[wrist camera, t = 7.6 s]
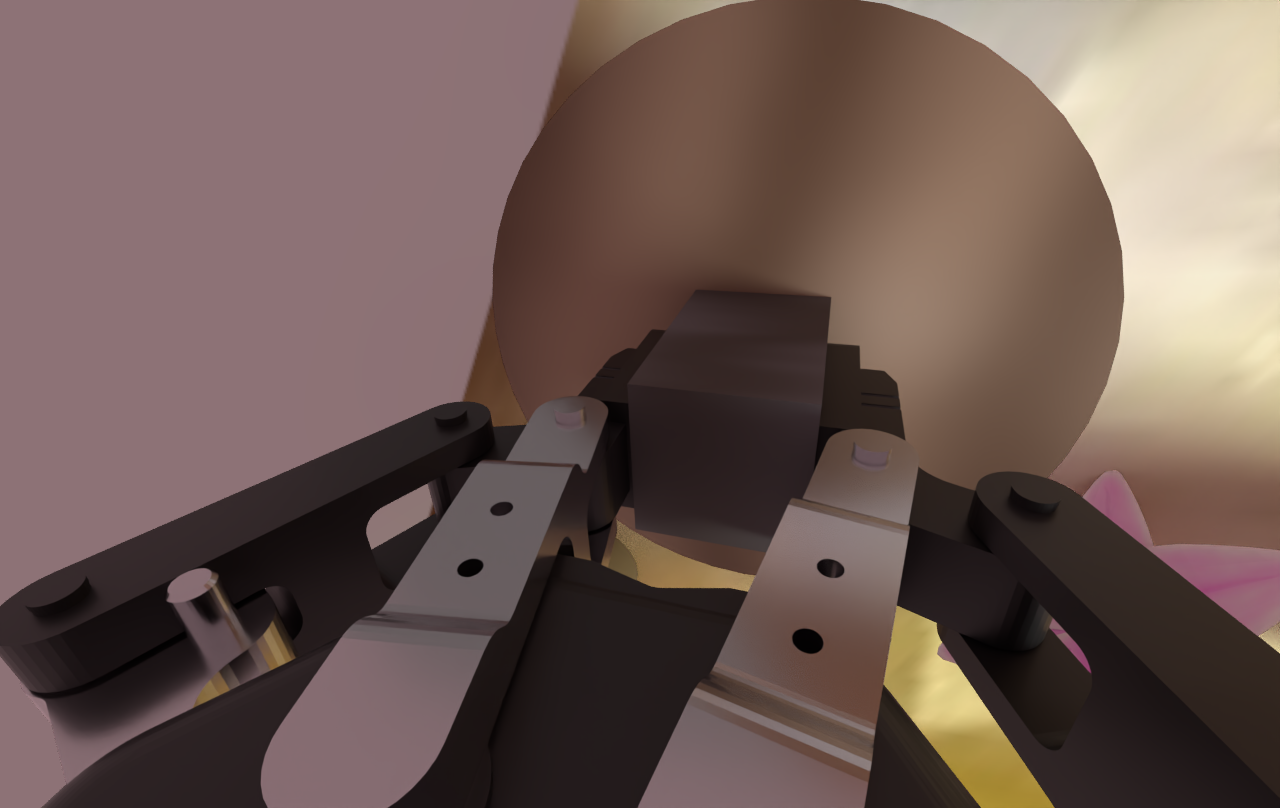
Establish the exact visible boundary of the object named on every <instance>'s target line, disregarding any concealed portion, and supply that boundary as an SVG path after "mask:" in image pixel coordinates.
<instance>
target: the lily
mask: <svg viewBox="0 0 1280 808" xmlns="http://www.w3.org/2000/svg"><path fill="white" fill-rule="evenodd" d="M1082 497H1083V498H1084V499H1085V500H1086V501H1088V502H1089V503H1090V504H1091V505H1093V506H1094V507H1095V508H1096V509H1098V510H1099V511H1100V512H1101V513H1103V514H1104V515H1105V516H1107V517H1108V518H1109V519H1110V520H1112V521H1113V522H1114V523H1115V524H1117V525H1118V526H1119V527H1120V528H1122V529H1123V530H1124V531H1126V532H1127V533H1128V534H1129V535H1131V536H1132V537H1133V538H1134V539H1136V540H1137V541H1138V542H1139V543H1141V544H1142V545H1143V546H1144V547H1146V548H1147V549H1148V550H1150V551H1151V552H1152V553H1153V554H1155V555H1156V556H1157V557H1158V558H1160V559H1161V560H1162V561H1163V562H1165V563H1166V564H1167V565H1168V566H1170V567H1171V568H1172V569H1174V570H1175V571H1176V572H1177V573H1179V574H1180V575H1181V576H1182V577H1184V578H1185V579H1186V580H1187V581H1189V582H1190V583H1191V584H1193V585H1194V586H1195V587H1196V588H1198V589H1199V590H1200V591H1201V592H1203V593H1204V594H1205V595H1206V596H1208V597H1209V598H1210V599H1211V600H1213V601H1214V602H1215V603H1217V604H1218V605H1219V606H1220V607H1222V608H1223V609H1224V610H1225V611H1227V612H1228V613H1229V614H1230V615H1232V616H1233V617H1234V618H1236V619H1237V620H1238V621H1239V622H1241V623H1242V624H1243V625H1244V626H1246V627H1247V628H1248V629H1249V630H1251V631H1252V632H1253V633H1254V634H1256V635H1257V636H1259V635H1261V634H1262V633H1264V632H1265V631H1267V630H1268V629H1270V628H1271V627H1273V626H1274V625H1275V624H1277V623H1278V622H1280V550H1274V549H1264V548H1255V547H1241V546H1225V545H1207V544H1170V545H1160V546H1154V545H1153V541H1152V538H1151V535H1150V532H1149V529H1148V526H1147V523H1146V521H1145V519H1144V516H1143V514H1142V512H1141V509H1140V507H1139V505H1138V503H1137V501H1136V499H1135V497H1134V495H1133V493H1132V491H1131V489H1130V487H1129V485H1128V483H1127V482H1126V480H1125V479H1124V477H1123V476H1122V474H1121V473H1120V472H1118V471H1117V470H1112V471H1107V472H1104V473H1103V474H1102V475H1101V476H1100V477H1099V478H1098V479H1097V480H1096V481H1095V482H1094V483H1093V484H1092V485H1091V487H1090V488H1089V489H1088V490H1087V492H1086V493H1085V494H1084V495H1083V496H1082ZM1049 628H1050V629H1051V630H1052V631H1053V632H1054V633H1055V634H1056V635H1057V637H1058V638H1059V639H1060V640H1061V641H1062V642H1063V643H1064V644H1065V645H1066V647H1067V648H1068V649H1069V650H1070V651H1071V652H1072V653H1073V654H1074V656H1075V657H1076V658H1077V659H1078V660H1079V661H1080V662H1081V663H1082V664H1083V666H1084V667H1085V668H1086V669H1087V670H1088V671H1089V672H1090V673H1091V670H1090V667H1089V664H1088V661H1087V659H1086V657H1085V655H1084V653H1083V652H1082V650H1081V649H1080V647H1079V646H1078V645H1077V644H1076V643H1075V641H1074V640H1073V639H1072V638H1071V637H1070V636H1069V635H1068V634H1067V633H1066V632H1065V631H1064V629H1063V628H1062V627H1061V626H1060V625H1059V624H1058V623H1057V622H1056V621H1055V620H1054V619H1052V622H1051V624H1050V627H1049ZM937 654H938V655H939V656H940V657H941V658H942V659H944V660H947V661H950V662H953V663H956V662H955V660H954V659H953V657H952V656H951V654H950V653H949V652H948V650H947V649H946V647H945V646H944V644H943V643H942V644H941V645H940V646H939V648H938V653H937ZM956 664H957V663H956Z"/></svg>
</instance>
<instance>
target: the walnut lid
mask: <svg viewBox="0 0 1280 808" xmlns="http://www.w3.org/2000/svg"><path fill="white" fill-rule="evenodd" d="M1123 303H1124V285H1123V265H1122V250H1121V245H1120V241H1119V236H1118V232H1117V228H1116V223H1115V219H1114V214H1113V210H1112V206H1111V203H1110V200H1109V198H1108V196H1107V193H1106V191H1105V188H1104V186H1103V184H1102V181H1101V179H1100V177H1099V174H1098V172H1097V170H1096V167H1095V165H1094V162H1093V160H1092V158H1091V156H1090V155H1089V153H1088V152H1087V150H1086V149H1085V147H1084V146H1083V144H1082V143H1081V141H1080V140H1079V138H1078V137H1077V135H1076V133H1075V132H1074V130H1073V129H1072V127H1071V126H1070V124H1069V123H1068V121H1067V120H1066V118H1065V117H1064V115H1063V114H1062V113H1061V112H1060V111H1059V110H1058V109H1057V108H1056V107H1055V106H1054V105H1053V104H1052V102H1051V101H1050V100H1049V99H1048V98H1047V97H1046V96H1045V95H1044V94H1043V93H1042V92H1041V91H1040V90H1039V89H1038V88H1037V87H1036V85H1035V84H1034V83H1033V82H1032V81H1031V80H1030V79H1029V78H1028V77H1027V76H1025V75H1024V74H1023V73H1021V72H1020V71H1019V70H1017V69H1016V68H1015V67H1013V66H1012V65H1011V64H1009V63H1008V62H1007V61H1005V60H1004V59H1003V58H1001V57H1000V56H999V55H997V54H996V53H995V52H993V51H992V50H991V49H989V48H988V47H987V46H985V45H983V44H982V43H980V42H978V41H976V40H974V39H972V38H970V37H968V36H966V35H964V34H962V33H960V32H958V31H956V30H954V29H952V28H950V27H948V26H947V25H945V24H943V23H941V22H939V21H936V20H933V19H930V18H927V17H924V16H921V15H918V14H915V13H912V12H908V11H905V10H902V9H899V8H896V7H893V6H890V5H887V4H881V3H874V2H868V1H861V0H755V1H749V2H742V3H736V4H730V5H726V6H723V7H720V8H717V9H714V10H711V11H708V12H704V13H701V14H698V15H695V16H692V17H689V18H686V19H683V20H680V21H678V22H676V23H674V24H672V25H670V26H668V27H666V28H664V29H662V30H660V31H658V32H656V33H654V34H652V35H650V36H648V37H646V38H644V39H642V40H640V41H638V42H636V43H635V44H634V45H632V46H631V47H629V48H628V49H626V50H625V51H623V52H622V53H621V54H619V55H618V56H616V57H615V58H613V59H612V60H610V61H609V62H607V63H606V64H605V65H603V66H602V67H600V68H599V69H598V70H597V71H596V72H595V73H594V74H593V75H592V76H591V77H590V78H589V79H588V80H586V81H585V82H584V83H583V84H582V85H581V86H580V87H579V88H578V89H577V90H576V91H575V92H573V93H572V94H571V95H570V96H569V97H568V99H567V100H566V101H565V102H564V104H563V105H562V106H561V107H560V108H559V110H558V111H557V112H556V113H555V115H554V116H553V117H552V118H551V120H550V121H549V122H548V123H547V124H546V126H545V127H544V128H543V130H542V131H541V133H540V135H539V136H538V138H537V140H536V141H535V143H534V145H533V146H532V148H531V150H530V151H529V153H528V155H527V156H526V158H525V160H524V161H523V163H522V166H521V168H520V170H519V172H518V175H517V177H516V180H515V182H514V184H513V186H512V189H511V191H510V193H509V196H508V198H507V202H506V206H505V209H504V213H503V216H502V220H501V223H500V227H499V231H498V237H497V243H496V250H495V258H494V264H493V308H494V318H495V327H496V334H497V339H498V343H499V347H500V352H501V356H502V361H503V364H504V367H505V370H506V373H507V376H508V379H509V381H510V384H511V387H512V390H513V393H514V395H515V397H516V399H517V401H518V403H519V405H520V407H521V409H522V411H523V413H524V415H525V418H526V420H527V421H528V422H529V420H530V418H531V417H532V415H533V413H534V412H535V410H536V409H537V408H538V407H540V406H541V405H543V404H544V403H546V402H548V401H551V400H554V399H558V398H562V397H569V396H578V395H579V394H580V392H581V391H582V390H583V389H584V388H585V387H586V385H587V384H588V383H589V382H590V381H591V380H592V378H593V377H595V375H596V374H597V373H598V371H599V370H600V369H602V367H603V365H604V364H605V363H606V362H607V361H608V360H609V358H610V357H611V356H613V355H615V354H617V353H619V352H621V351H623V350H625V349H627V348H635V349H637V347H638V346H639V345H640V343H641V342H642V341H643V340H644V338H645V337H646V336H647V334H648V333H649V332H650V331H651V330H652V329H656V330H666V331H665V333H664V334H663V336H662V337H661V338H660V340H659V341H658V342H657V344H656V345H655V347H654V348H653V349H652V351H651V352H650V353H649V355H648V356H647V358H646V359H645V360H644V362H643V363H642V364H641V366H640V367H639V369H638V370H637V371H636V373H635V374H634V375H633V377H632V378H631V380H630V381H629V382H628V384H627V388H628V406H629V424H630V442H631V460H632V478H633V496H634V508H629V507H623V506H621V507H620V509H619V511H618V513H617V515H616V519H617V520H618V521H620V522H621V523H622V524H624V525H625V526H627V527H628V528H630V529H631V530H633V531H635V532H636V533H638V534H640V535H642V536H644V537H645V538H647V539H649V540H651V541H652V542H654V543H656V544H658V545H660V546H662V547H665V548H667V549H669V550H671V551H673V552H676V553H678V554H680V555H682V556H685V557H688V558H691V559H694V560H696V561H699V562H702V563H705V564H708V565H711V566H714V567H718V568H722V569H727V570H731V571H735V572H739V573H743V574H750V575H756V574H757V572H758V570H759V567H760V565H761V563H762V561H763V559H764V556H765V554H766V552H767V550H768V548H769V546H770V543H771V541H772V539H773V537H774V535H775V532H776V530H777V528H778V526H779V524H780V522H781V519H782V517H783V515H784V513H785V511H786V508H787V506H788V504H789V502H790V500H791V499H792V498H793V497H794V496H795V497H799V498H803V496H804V494H805V492H806V489H807V487H808V485H809V483H810V480H811V478H812V476H813V472H814V464H815V456H816V448H817V440H818V432H819V424H820V416H821V407H822V397H823V386H824V375H825V364H826V353H827V343H834V344H847V345H859V346H860V369H871V370H882V371H885V372H886V373H887V374H888V375H889V376H890V377H891V378H892V379H893V380H895V381H896V382H897V385H898V392H899V399H900V406H901V408H900V410H901V412H902V419H903V426H904V433H905V440H906V442H908V443H909V444H911V445H912V446H913V447H914V448H915V450H916V451H917V452H918V455H919V467H920V468H921V469H923V470H924V471H925V472H927V473H929V474H931V475H932V476H934V477H937V478H939V479H941V480H943V481H946V482H949V483H952V484H955V485H958V486H962V487H965V488H968V489H971V490H974V491H975V489H976V485H977V483H978V481H979V480H980V479H981V478H982V477H984V476H986V475H988V474H991V473H996V472H1005V471H1012V472H1023V473H1029V474H1033V475H1038V476H1041V477H1044V478H1048V477H1049V475H1050V474H1051V473H1052V472H1053V471H1054V470H1055V469H1056V468H1057V466H1058V465H1059V464H1060V463H1061V462H1062V461H1063V460H1064V459H1065V457H1066V456H1067V454H1068V453H1069V451H1070V450H1071V448H1072V447H1073V445H1074V444H1075V442H1076V441H1077V439H1078V438H1079V436H1080V435H1081V433H1082V432H1083V430H1084V429H1085V427H1086V426H1087V424H1088V423H1089V420H1090V418H1091V416H1092V414H1093V412H1094V410H1095V408H1096V406H1097V403H1098V401H1099V399H1100V397H1101V395H1102V393H1103V391H1104V389H1105V386H1106V384H1107V381H1108V377H1109V374H1110V370H1111V367H1112V364H1113V360H1114V357H1115V353H1116V350H1117V347H1118V343H1119V336H1120V327H1121V319H1122V311H1123Z"/></svg>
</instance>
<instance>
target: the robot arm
mask: <svg viewBox="0 0 1280 808" xmlns="http://www.w3.org/2000/svg"><path fill="white" fill-rule="evenodd" d="M665 331H666V330H656V329H652V330H651V331H650V332H649V333H648V334H647V336H646V337H645V338H644V340H643V341H642V342H641V343H640V345H639V346H638V347H637V349H635V348H627V349H625V350H623V351H621V352H619V353H617V354H615V355H613V356H611V357H610V358H609V360H608V361H607V362H606V363H605V364H604V365H603V367H602V369H600V370H599V371H598V373H597V374H596V375H595V377H593V378H592V380H591V381H590V382H589V383H588V384H587V385H586V387H585V388H584V389H583V390H582V391H581V392H580V394H579V395H578V396H569V397H562V398H558V399H554V400H551V401H548V402H546V403H544V404H543V405H541V406H540V407H538V408H537V409H536V410H535V412H534V413H533V415H532V417H531V418H530V420H529V422H528V423H527V425H517V426H500V427H493V425H492V420H491V414H490V411H489V409H488V408H487V407H485V406H484V405H482V404H479V403H475V402H454V403H447V404H443V405H440V406H437V407H434V408H431V409H429V410H427V411H425V412H422V413H420V414H418V415H415V416H413V417H411V418H408V419H406V420H404V421H402V422H399V423H397V424H395V425H392V426H390V427H388V428H385V429H383V430H381V431H379V432H376V433H374V434H372V435H370V436H367V437H365V438H362V439H360V440H358V441H355V442H353V443H351V444H349V445H346V446H344V447H342V448H339V449H337V450H335V451H332V452H330V453H328V454H326V455H323V456H321V457H319V458H316V459H314V460H312V461H309V462H307V463H305V464H303V465H300V466H298V467H296V468H293V469H291V470H289V471H286V472H284V473H282V474H280V475H277V476H275V477H273V478H270V479H268V480H266V481H263V482H261V483H259V484H256V485H255V486H252V487H250V488H247V489H245V490H243V491H241V492H238V493H236V494H233V495H231V496H229V497H227V498H224V499H222V500H220V501H217V502H215V503H213V504H210V505H208V506H206V507H204V508H201V509H199V510H197V511H194V512H192V513H190V514H188V515H185V516H183V517H181V518H178V519H176V520H174V521H171V522H169V523H167V524H164V525H162V526H160V527H157V528H155V529H153V530H151V531H148V532H146V533H144V534H141V535H139V536H137V537H135V538H132V539H130V540H128V541H125V542H123V543H121V544H118V545H116V546H114V547H112V548H110V549H107V550H105V551H102V552H100V553H98V554H96V555H93V556H91V557H89V558H86V559H84V560H82V561H79V562H77V563H75V564H72V565H70V566H68V567H65V568H63V569H61V570H59V571H56V572H54V573H52V574H50V575H48V576H45V577H43V578H41V579H39V580H38V581H36V582H34V583H32V584H30V585H29V586H27V587H25V588H24V589H22V590H20V591H19V592H18V593H17V594H15V595H14V596H12V597H11V598H9V599H8V600H7V601H6V602H5V603H3V604H2V605H1V606H0V657H1V658H2V659H3V660H4V661H5V663H6V664H7V665H8V666H9V667H10V668H11V670H12V671H13V672H14V673H15V675H16V676H17V677H18V678H19V679H20V681H21V682H20V684H21V689H22V690H23V691H24V693H25V694H26V695H27V696H28V697H29V699H30V700H31V701H32V702H33V703H34V705H35V706H36V707H37V708H38V709H39V710H40V712H41V713H42V714H43V715H44V716H45V718H46V719H47V720H48V721H49V722H50V723H51V725H52V729H53V733H54V737H55V741H56V745H57V749H58V753H59V757H60V761H61V766H62V770H63V774H64V778H65V782H66V785H65V786H64V787H63V788H62V789H61V790H60V791H59V792H58V793H56V795H54V796H53V797H52V798H51V799H50V800H49V801H48V802H47V803H46V804H45V805H44V806H43V807H42V808H981V807H980V806H979V805H978V803H977V802H976V801H975V800H974V798H973V797H972V796H971V795H970V793H969V792H968V791H967V789H966V788H965V787H964V786H963V784H962V783H961V782H960V781H959V779H958V778H957V777H956V775H955V774H954V773H953V772H952V770H951V769H950V768H949V767H948V765H947V764H946V763H945V762H944V760H943V759H942V758H941V756H940V755H939V754H938V753H937V751H936V750H935V749H934V748H933V746H932V745H931V744H930V742H929V741H928V740H927V739H926V737H925V736H924V735H923V734H922V732H921V731H920V730H919V728H918V727H917V726H916V725H915V723H914V722H913V721H912V720H911V718H910V717H909V716H908V715H907V713H906V712H905V711H904V709H903V708H902V707H901V706H900V704H899V703H898V702H897V701H896V699H895V698H894V697H893V695H892V694H891V693H890V692H889V690H888V689H887V688H886V687H885V686H884V685H883V683H884V677H885V671H886V665H887V659H888V653H889V647H890V642H891V636H892V630H893V624H894V618H895V612H896V606H900V607H902V608H904V609H906V610H909V611H911V612H913V613H916V614H918V615H920V616H922V617H925V618H927V619H929V620H932V621H934V622H936V623H937V631H938V634H939V637H940V639H941V641H942V643H943V644H944V646H945V647H946V649H947V650H948V652H949V653H950V654H951V656H952V657H953V659H954V660H955V662H956V663H957V665H958V666H959V668H960V669H961V671H962V672H963V674H964V675H965V677H966V678H967V679H968V681H969V682H970V684H971V685H972V687H973V688H974V690H975V691H976V693H977V694H978V696H979V697H980V699H981V700H982V701H983V703H984V704H985V706H986V707H987V709H988V710H989V712H990V713H991V715H992V716H993V718H994V719H995V721H996V722H997V723H998V725H999V726H1000V728H1001V729H1002V731H1003V732H1004V734H1005V735H1006V737H1007V738H1008V740H1009V741H1010V743H1011V744H1012V745H1013V747H1014V748H1015V750H1016V751H1017V753H1018V754H1019V756H1020V757H1021V759H1022V760H1023V762H1024V763H1025V765H1026V766H1027V768H1028V769H1029V770H1030V772H1031V773H1032V775H1033V776H1034V778H1035V779H1036V781H1037V782H1038V784H1039V785H1040V787H1041V788H1042V790H1043V791H1044V792H1045V794H1046V795H1047V797H1048V798H1049V800H1050V801H1051V803H1052V804H1053V806H1054V807H1055V808H1280V653H1278V652H1277V651H1276V650H1275V649H1273V648H1272V647H1271V646H1270V645H1268V644H1267V643H1266V642H1265V641H1263V640H1262V639H1261V638H1260V637H1258V636H1257V635H1256V634H1254V633H1253V632H1252V631H1251V630H1249V629H1248V628H1247V627H1246V626H1244V625H1243V624H1242V623H1241V622H1239V621H1238V620H1237V619H1236V618H1234V617H1233V616H1232V615H1230V614H1229V613H1228V612H1227V611H1225V610H1224V609H1223V608H1222V607H1220V606H1219V605H1218V604H1217V603H1215V602H1214V601H1213V600H1211V599H1210V598H1209V597H1208V596H1206V595H1205V594H1204V593H1203V592H1201V591H1200V590H1199V589H1198V588H1196V587H1195V586H1194V585H1193V584H1191V583H1190V582H1189V581H1187V580H1186V579H1185V578H1184V577H1182V576H1181V575H1180V574H1179V573H1177V572H1176V571H1175V570H1174V569H1172V568H1171V567H1170V566H1168V565H1167V564H1166V563H1165V562H1163V561H1162V560H1161V559H1160V558H1158V557H1157V556H1156V555H1155V554H1153V553H1152V552H1151V551H1150V550H1148V549H1147V548H1146V547H1144V546H1143V545H1142V544H1141V543H1139V542H1138V541H1137V540H1136V539H1134V538H1133V537H1132V536H1131V535H1129V534H1128V533H1127V532H1126V531H1124V530H1123V529H1122V528H1120V527H1119V526H1118V525H1117V524H1115V523H1114V522H1113V521H1112V520H1110V519H1109V518H1108V517H1107V516H1105V515H1104V514H1103V513H1101V512H1100V511H1099V510H1098V509H1096V508H1095V507H1094V506H1093V505H1091V504H1090V503H1089V502H1088V501H1086V500H1085V499H1084V498H1083V497H1081V496H1080V495H1079V494H1077V493H1076V492H1074V491H1073V490H1071V489H1069V488H1068V487H1066V486H1064V485H1062V484H1060V483H1058V482H1055V481H1053V480H1050V479H1047V478H1044V477H1041V476H1038V475H1033V474H1029V473H1023V472H1012V471H1005V472H996V473H991V474H988V475H986V476H984V477H982V478H981V479H980V480H979V481H978V483H977V485H976V489H975V491H974V490H971V489H968V488H965V487H962V486H958V485H955V484H952V483H949V482H946V481H943V480H941V479H939V478H937V477H934V476H932V475H931V474H929V473H927V472H925V471H924V470H923V469H921V468H920V467H919V455H918V452H917V451H916V450H915V448H914V447H913V446H912V445H911V444H909V443H908V442H906V440H905V433H904V426H903V419H902V412H901V410H900V408H901V406H900V399H899V392H898V385H897V382H896V381H895V380H893V379H892V378H891V377H890V376H889V375H888V374H887V373H886V372H885V371H882V370H871V369H860V346H859V345H847V344H834V343H827V353H826V364H825V375H824V386H823V397H822V407H821V416H820V424H819V432H818V440H817V448H816V456H815V464H814V472H813V476H812V478H811V480H810V483H809V485H808V487H807V489H806V492H805V494H804V496H803V498H799V497H795V496H794V497H793V498H792V499H791V500H790V502H789V504H788V506H787V508H786V511H785V513H784V515H783V517H782V519H781V522H780V524H779V526H778V528H777V530H776V532H775V535H774V537H773V539H772V541H771V543H770V546H769V548H768V550H767V552H766V554H765V556H764V559H763V561H762V563H761V565H760V567H759V570H758V572H757V574H756V576H755V578H754V580H753V583H752V585H751V587H750V589H749V591H748V592H746V591H741V590H736V589H731V588H655V587H651V586H648V585H646V584H644V583H641V582H639V581H637V580H635V579H632V578H630V577H628V576H626V575H623V574H621V573H619V572H617V571H614V570H612V569H610V568H608V565H609V561H610V557H611V553H612V549H613V545H614V541H615V537H616V533H617V521H616V515H617V513H618V511H619V509H620V507H621V506H623V507H629V508H634V496H633V478H632V460H631V442H630V424H629V406H628V388H627V384H628V382H629V381H630V380H631V378H632V377H633V375H634V374H635V373H636V371H637V370H638V369H639V367H640V366H641V364H642V363H643V362H644V360H645V359H646V358H647V356H648V355H649V353H650V352H651V351H652V349H653V348H654V347H655V345H656V344H657V342H658V341H659V340H660V338H661V337H662V336H663V334H664V333H665ZM427 483H428V487H429V490H430V494H431V498H432V502H433V506H434V509H435V513H436V514H434V515H432V516H430V517H428V518H427V519H425V520H423V521H421V522H420V523H418V524H416V525H414V526H413V527H411V528H409V529H407V530H406V531H404V532H402V533H400V534H399V535H397V536H395V537H393V538H391V539H390V540H388V541H386V542H384V543H383V544H381V545H379V546H377V547H376V548H374V549H372V550H371V547H370V544H369V541H368V538H367V535H366V527H367V524H368V522H369V520H370V518H371V517H372V515H373V514H374V513H375V512H376V511H377V510H379V509H380V508H382V507H383V506H385V505H387V504H389V503H391V502H393V501H395V500H397V499H399V498H400V497H402V496H404V495H406V494H408V493H410V492H412V491H414V490H416V489H418V488H420V487H421V486H423V485H425V484H427ZM265 588H266V589H265ZM1052 619H1054V620H1055V621H1056V622H1057V623H1058V624H1059V625H1060V626H1061V627H1062V628H1063V629H1064V631H1065V632H1066V633H1067V634H1068V635H1069V636H1070V637H1071V638H1072V639H1073V640H1074V641H1075V643H1076V644H1077V645H1078V646H1079V647H1080V649H1081V650H1082V652H1083V653H1084V655H1085V657H1086V659H1087V661H1088V664H1089V667H1090V670H1091V673H1090V672H1089V671H1088V670H1087V669H1086V668H1085V667H1084V666H1083V664H1082V663H1081V662H1080V661H1079V660H1078V659H1077V658H1076V657H1075V656H1074V654H1073V653H1072V652H1071V651H1070V650H1069V649H1068V648H1067V647H1066V645H1065V644H1064V643H1063V642H1062V641H1061V640H1060V639H1059V638H1058V637H1057V635H1056V634H1055V633H1054V632H1053V631H1052V630H1051V629H1050V628H1049V627H1050V624H1051V622H1052Z"/></svg>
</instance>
